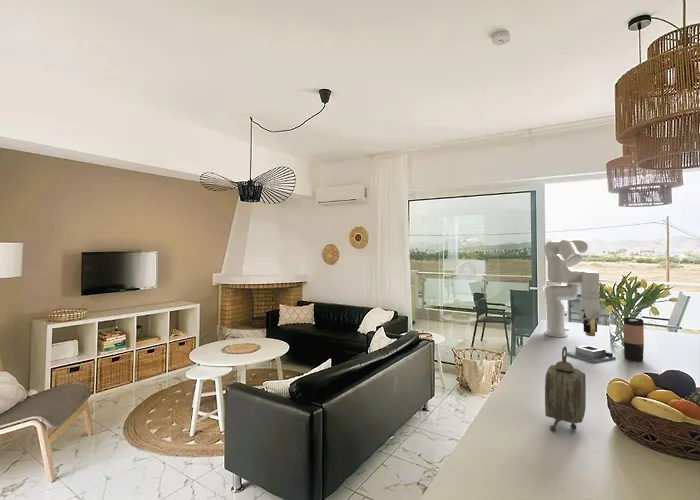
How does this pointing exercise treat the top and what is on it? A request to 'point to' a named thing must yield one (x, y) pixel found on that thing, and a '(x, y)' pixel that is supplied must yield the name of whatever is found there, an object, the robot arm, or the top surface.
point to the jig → (591, 354)
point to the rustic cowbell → (565, 393)
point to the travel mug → (633, 339)
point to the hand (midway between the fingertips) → (590, 331)
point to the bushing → (592, 327)
